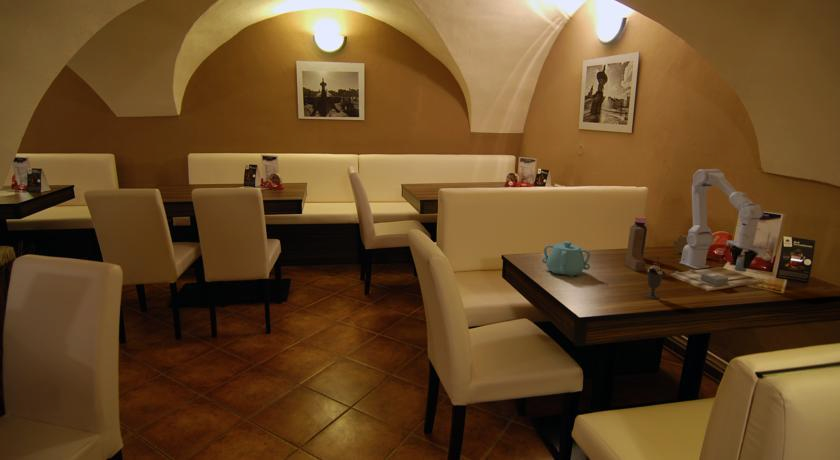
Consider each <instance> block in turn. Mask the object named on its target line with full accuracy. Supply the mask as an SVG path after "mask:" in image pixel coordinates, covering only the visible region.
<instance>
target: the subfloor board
mask: <svg viewBox="0 0 840 460" xmlns="http://www.w3.org/2000/svg"><path fill="white" fill-rule="evenodd" d="M705 273H715V274H718V275H721V276H724V277H726V278H728V282H727V285H725V286H718V287H715V286H714V285H712V284H709V283H706V282H704V281H701V275H702V274H705ZM670 277H672V278H675V279H677V280H680V281H683V282H684V283H688V284H690V285H692V286H695V287H697V288H700V289H702V290H706V291H708V292H709V291H710V292H711V291H716V290H722V289H729V288H735V287H741V286H747V285H748V284H749V285H752V284H751V283H755V284H757V283H756V282H760V283H761V279H758V278H755V277H753V276H749V275H746V274H743V273H741V272H738V271H734V270H731V269H728V268H724V267H721V266H720V267H719V266H717V267H713V268H712V267H711V268H710V267H709V268H702V269H695V270H694V269H693V270H692V269H689V270H687V271H682V272H681V271H680V272H679V271H675V272H673V273H670ZM749 285H748V286H749Z"/></svg>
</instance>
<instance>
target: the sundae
mask: <svg viewBox="0 0 840 460" xmlns="http://www.w3.org/2000/svg"><path fill="white" fill-rule="evenodd" d="M659 259H660V258H659V257H657V261H656V262H654V263H653V264H652V265H651V266H650V267H649V268H648V269H645V272H646V273H647V285H648V286H649V288H650V290H651V291H650V293H646V294H644V297H645V298H646V297H647V298H646V299H649V300H659V299H660V297H659V296H658V295H656V294H655V291H656V289H658V288H659V287H660V286H661V282H662V279H663V277H664V276H665V275H666V272H665V271H664V270H663V269H662V267H660V266H661V264H660V260H659Z"/></svg>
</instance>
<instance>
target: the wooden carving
mask: <svg viewBox="0 0 840 460" xmlns="http://www.w3.org/2000/svg"><path fill="white" fill-rule="evenodd" d="M687 237H688V234H687V235H685V234H684V235H679V236H678V237H677V240H676V241H675V240H673V241H672V242H671V245H672V246H675V247H674V248H673V249H674V250H675V251H676V252H678V253H680V254H682V252H683V248H684V247H685V246H686V245H688V243H687ZM709 251H710V247H709V248H708V251H707V252H709Z"/></svg>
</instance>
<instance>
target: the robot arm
mask: <svg viewBox="0 0 840 460" xmlns="http://www.w3.org/2000/svg"><path fill="white" fill-rule="evenodd" d="M692 179H693V180H692V185H691V203H692V204H691V206H692V207H691V208H692V209H691V210H692V226H691V228H690V229H689V230H688V231H687V232H688V234H687V235H688V237H687V243H688V245H686V246H685V247H684V248H683V252H682V253H681V260H680V261H679V264H682V265H684V266H687V267H689V268H693V269H695V270H702V269H709V268H710V265H708V264H706V261H707V256H708V252H709V251H708V248H709V249H710V246H712V244H713V243H714V240H715V239H714V236H713V233H712V229H711V228H710V227H709V226H708V214H707V213H708V212H707V209H708V208H707V190H709V188H710V187H713V186H716V187H717V188H719V190H720V191H722V192H723V193H724V194H725V195H726V196H728V201H729V203H730V204H731V205H732V206H733V207H734V208H735V209H736V210H737V211H738V216H739V218H740V220H739V222H740V225H739V230H738V235H737V241H735V240H731V239H729V240H726V243H725V245H726V246H731V247H729V251H730V253H731V256H732V258H731V259H732V265H734V266H736V261H737V256H738V255H742V252H743V251H744V252H743V255H745V261H744V268H747V269H749V268H750V266H751V264H752V262H753V261H754V259H756V257H757V256H758V255H764V253H765V248H761V247H758V246H756V245H754V244H755V240H756V235H757V229H758V224H759V220H760V219H761V218H762V217H763V215H764V209H763V207H762V205H760V204H755V203H754V201H752V200H751V199H750V198H748V197H747V194H746V193H745V192H742V191H737V190H736V189H735V188H734V187H733V185H732V184H731V183H730V182H729V181H728V180H727V178H726V177H725V174H724V172H722V171H721V170H720V169H718V168H712V169H707V168H706V169H704V168H702V169H701V168H699V169H697V170H696V171H695V173H693V175H692Z"/></svg>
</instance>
